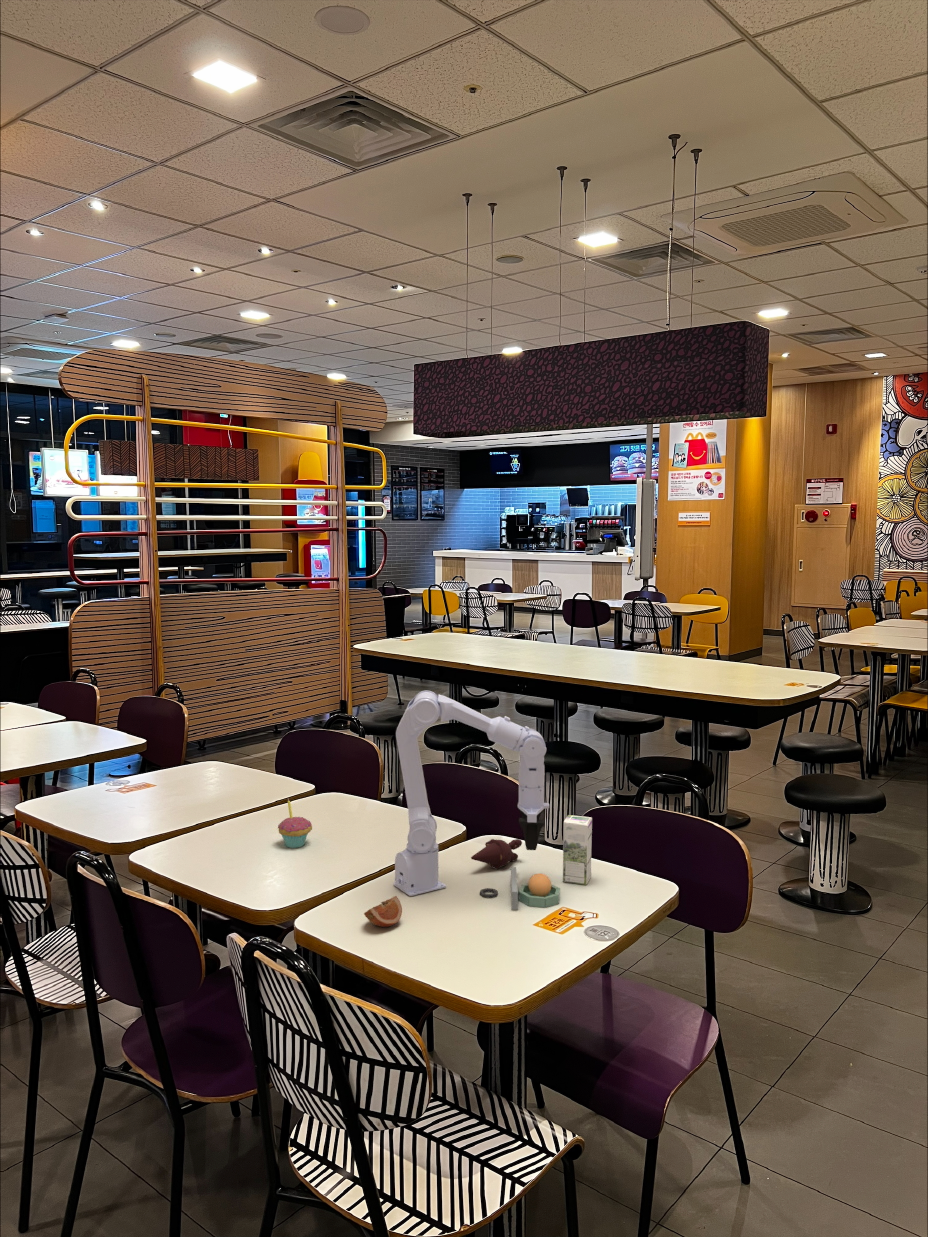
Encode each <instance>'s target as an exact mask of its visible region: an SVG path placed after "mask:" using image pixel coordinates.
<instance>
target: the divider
mask: <svg viewBox="0 0 928 1237" xmlns="http://www.w3.org/2000/svg"><path fill="white" fill-rule="evenodd" d="M517 872H518V871H517V867H513V866H510V895H511V896H510V898H511V900H510V901H511V902H510V903H511V910H512V911H518V901H519V891H518V875H517Z"/></svg>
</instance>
